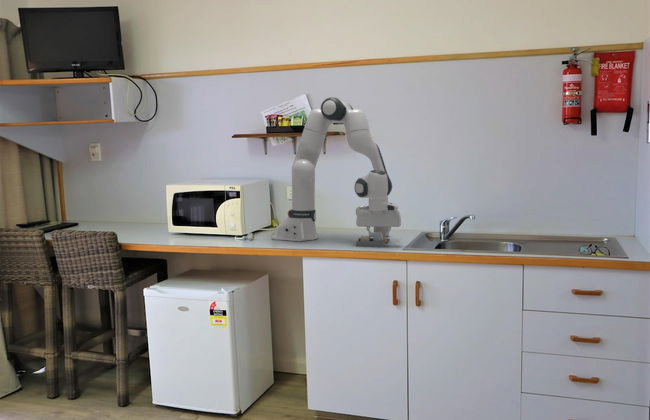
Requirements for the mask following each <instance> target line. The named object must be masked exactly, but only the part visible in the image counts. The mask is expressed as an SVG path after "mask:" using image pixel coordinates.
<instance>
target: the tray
mask: <svg viewBox="0 0 650 420" xmlns="http://www.w3.org/2000/svg"><path fill="white" fill-rule="evenodd" d="M383 239H385V245H386V244H388V243H389V241H390V238H388V237H383Z"/></svg>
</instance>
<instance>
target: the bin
mask: <svg viewBox="0 0 650 420" xmlns="http://www.w3.org/2000/svg"><path fill="white" fill-rule="evenodd" d="M355 241H356V242H355V247H356V248H357V247H359V248H362V247H363V248H382V249H383V248H384V246H385V245H386V244H385V239H383V241H373V237H370V241H360V237H358V238H357V239H356V240H355Z"/></svg>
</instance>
